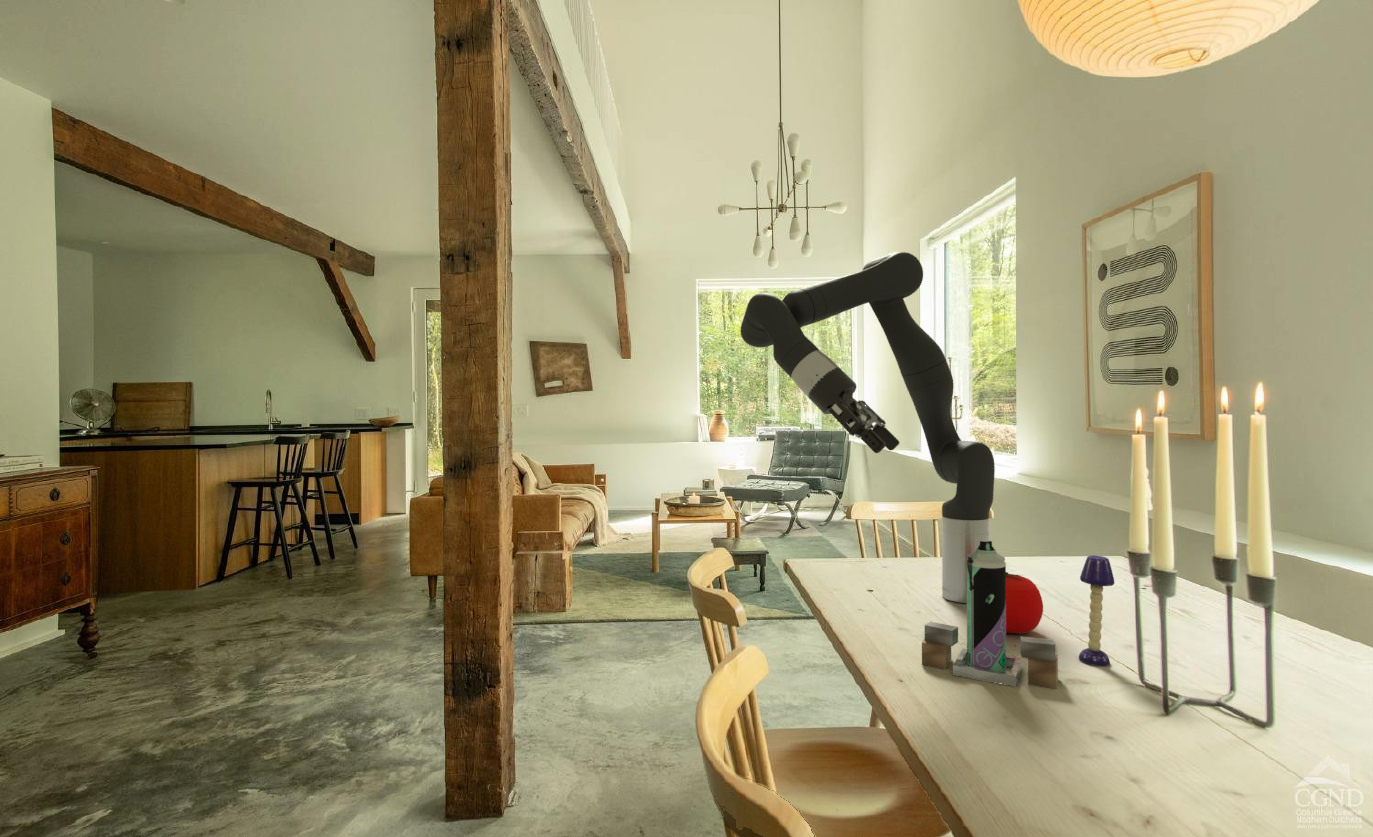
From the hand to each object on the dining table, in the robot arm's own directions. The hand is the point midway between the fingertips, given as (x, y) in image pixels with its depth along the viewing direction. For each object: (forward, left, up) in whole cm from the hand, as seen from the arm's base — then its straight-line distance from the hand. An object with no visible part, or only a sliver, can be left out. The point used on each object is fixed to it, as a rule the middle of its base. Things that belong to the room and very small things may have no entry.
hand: (888, 448), depth 115 cm
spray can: (-9, +13, -34) cm, 37 cm away
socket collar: (-9, +13, -34) cm, 37 cm away
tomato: (-25, -3, -34) cm, 42 cm away
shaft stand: (-9, +13, -34) cm, 37 cm away
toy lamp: (-28, +14, -34) cm, 46 cm away
